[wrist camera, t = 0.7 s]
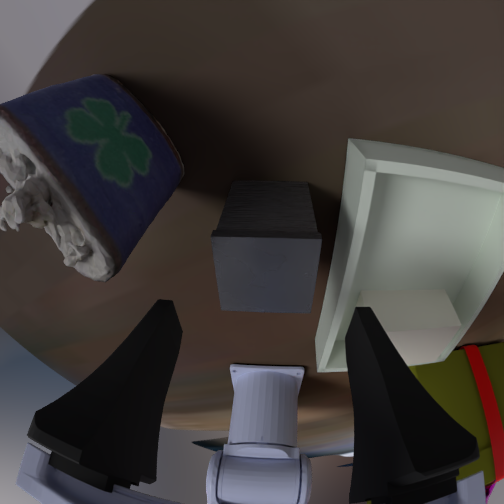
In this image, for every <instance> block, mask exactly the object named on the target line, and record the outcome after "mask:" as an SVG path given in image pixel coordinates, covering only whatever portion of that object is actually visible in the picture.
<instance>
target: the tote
mask: <svg viewBox="0 0 504 504" xmlns="http://www.w3.org/2000/svg"><path fill="white" fill-rule="evenodd" d="M503 272H504V168H502V167H499V166H496V165H492V164H489V163H485V162H481V161H477V160H474V159H470V158H466V157H461V156H457V155H453V154H448V153H444V152H439V151H434V150H429V149H423V148H418V147H412V146H406V145H400V144H393V143H386V142H378V141H370V140H361V139H352V138H348V147H347V157H346V166H345V175H344V183H343V191H342V199H341V206H340V213H339V220H338V226H337V233H336V239H335V245H334V251H333V256H332V262H331V267H330V272H329V278H328V283H327V288H326V293H325V298H324V302H323V307H322V311H321V316H320V320H319V325H318V329H317V333H316V338H315V345H316V360H317V372H340V371H348V369H347V363H346V351H345V336H346V333H347V330H348V328H349V325H350V322H351V319H352V316H353V313H354V310H355V307H356V304H357V301H358V298H359V295H360V292H361V290H433V289H445V291H446V293H447V295H448V297H449V299H450V301H451V303H452V305H453V307H454V309H455V312H456V314H457V316H458V318H459V320H460V323H461V327H460V328H459V330H458V331H457V333H456V334H455V336H454V337H453V338H452V340H451V341H450V343H449V344H448V345H447V347H446V348H445V349H444V351H443V352H442V353H441V355H440V356H439V357H438V358H437V360H436V361H432V362H425V363H418V364H410V365H407V366H414V365H422V364H429V363H435V362H442V361H445V359H446V358H447V357H448V356H449V354H450V353H451V352H452V350H453V349H454V348H455V347H456V345H457V344H458V343H459V341H460V340H461V339H462V337H463V336H464V334H465V333H466V332H467V330H468V329H469V327H470V326H471V324H472V323H473V322H474V320H475V319H476V317H477V316H478V314H479V312H480V311H481V309H482V308H483V306H484V305H485V303H486V301H487V300H488V298H489V296H490V295H491V293H492V291H493V290H494V288H495V286H496V284H497V283H498V281H499V279H500V277H501V275H502V273H503Z"/></svg>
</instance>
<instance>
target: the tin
mask: <svg viewBox="0 0 504 504" xmlns="http://www.w3.org/2000/svg"><path fill="white" fill-rule="evenodd" d="M211 242H212V250H213V257H214V264H215V271H216V278H217V284H218V291H219V298H220V304H221V310H229V311H250V312H277V313H311V307H312V301H313V296H314V290H315V284H316V277H317V271H318V265H319V258H320V251H321V244H322V236H321V233H318V231H317V226H316V221H315V216H314V211H313V206H312V201H311V197H310V192H309V187H308V183H307V182H294V181H233V183H232V185H231V188H230V191H229V194H228V197H227V200H226V203H225V205H224V208H223V211H222V214H221V217H220V220H219V223H218V226H217V229H216V230H213V232H212V234H211Z"/></svg>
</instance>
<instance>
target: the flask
mask: <svg viewBox="0 0 504 504" xmlns="http://www.w3.org/2000/svg"><path fill="white" fill-rule="evenodd" d="M0 173H1V174H3V175H4V177H5V179H6V180H7V181H8V182H9V184H10V185H11V186H8V187H7V188H6V191H7V193H10V192H13V188H14V189H15V190H14V192H13V193H12V194H10V195H9V196H7V197H6V198H5V200H4V201H3V202H2V206H0V228H1V229H2V230H4V231H7V228H6V225H5V220H6V221H7V223H8V225H9V226H10V227H11V228H12V229H16V230H17V231H19V225H20V223H24V222H25V223H29V224H31V225H32V226H33V227H37V228H43V227H44V228H45V230H46V233H48V234H49V235H50V236H51V237H52V238H53V240H54V241H55V243H56V245H57V246H58V248H59V250H60V251H62V253H63V255H64V257H65V259H64V264H65V265H66V266H70V267H71V266H72V267H74V268H75V269H76V270H77V271H78V272H79V273H81V274H82V275H84V276H85V277H90V278H91V279H93V280H95V281H102V282H106V281H108V280H109V279H110V278H112V277H114V276H115V275H116V274H117V273H118V272H119V271H120V270H121V268H122V267H123V265H124V264H125V262H126V260H127V258H128V257H129V255H130V254H131V252H132V251H133V249H134V248H135V246H136V245H137V243H138V242H139V240H140V239H141V237H142V236H143V234H144V233H145V231H146V229H147V228H148V226H149V225H150V224H151V223H152V221H153V220H154V218H155V217H156V215H157V214H158V212H159V211H160V209H162V208H163V206H164V205H165V203H166V202H167V201H168V200H169V198H170V197H171V196H172V194H173V192H174V191H175V189H176V187H177V186H178V184H179V183H180V181H181V179H182V177H183V176H184V164H183V163H182V161H181V157H180V155H179V153H178V152H177V149H176V148H175V147H174V145H173V143H172V141H171V139H170V137H169V136H167V134H166V132H165V129H163V127H162V126H161V124H160V123H159V122H158V121H157V120H156V118H155V117H154V116H153V114H151V113H149V111H147V109H146V108H145V107H144V105H143V104H142V103H141V102H139V100H138V99H137V98H136V97H135V96H134V95H132V93H130V91H129V90H128V89H127V88H126V87H125V86H123V84H122V83H121V82H119V80H116V79H115V78H113V77H111V76H109V75H105V74H94V75H92V76H88V77H84V78H81V79H77V80H73V81H70V82H66V83H62V84H57V85H52V86H50V87H47V88H44V89H41V90H38V91H35V92H32V93H29V94H26V95H23V96H21V97H18V98H16V99H13V100H11V101H8V102H5V103H2V104H0ZM12 187H13V188H12Z"/></svg>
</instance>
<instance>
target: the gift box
mask: <svg viewBox="0 0 504 504" xmlns="http://www.w3.org/2000/svg"><path fill="white" fill-rule="evenodd" d="M408 367H409V368H410V370H411V371H412V373H413V374H414V375H415V377H416V378H417V379H418V381H419V382H420V383H421V384H422V386H423V387H424V388H425V389H426V390H427V392H428V393H429V394H430V395H431V396H432V397H433V399H434V400H435V401H436V402H437V403H438V404H439V405H440V406H441V407H442V408H443V409H444V410H445V411H446V412H447V413H448V414H449V415H450V416H451V417H452V418H453V419H454V420H455V421H456V422H458V423H459V424H460V425H461V426H462V427H464V428H465V429H466V430H467V431H469V432H470V433H471V434H472V435H474V436H475V437H476V438H477V442H478V447H479V454H480V457H479V459H478V460H476V461H474V462H472V463H470V464H468V465H465V466H463V467H461V468H459V473H460V474H459V476H457V477H456V481H457V480H461V479H463V478H466V477H468V476H470V475H472V474H475V473H477V472H480V471H483V474H484V483H485V495H486V504H487V502H488V499H489V497H490V495H491V493H492V491H493V488H494V486H495V484H496V482H498V481H499V480H501V479H503V478H504V342H501V343H496V344H491V345H485V346H480V347H477V346H476V345H468V346H462V347H461V348H460V349H459V350H454V351H452V352H451V353H450V354H449V356H448V357H447V358H446V359H445V361H442V362H435V363H429V364H422V365H414V366H408ZM367 504H371V501H367Z"/></svg>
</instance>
